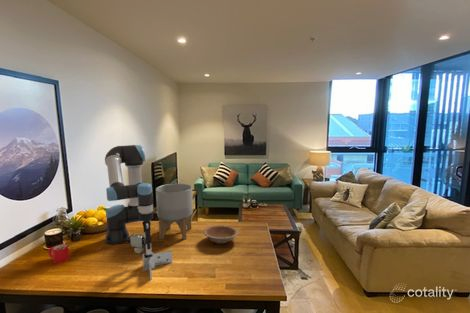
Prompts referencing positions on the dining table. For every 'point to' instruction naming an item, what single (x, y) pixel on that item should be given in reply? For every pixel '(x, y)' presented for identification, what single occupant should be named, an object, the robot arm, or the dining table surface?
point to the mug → (59, 253)
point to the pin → (145, 249)
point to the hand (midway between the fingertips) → (147, 248)
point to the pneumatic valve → (137, 242)
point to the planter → (174, 207)
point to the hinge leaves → (156, 260)
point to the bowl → (220, 233)
